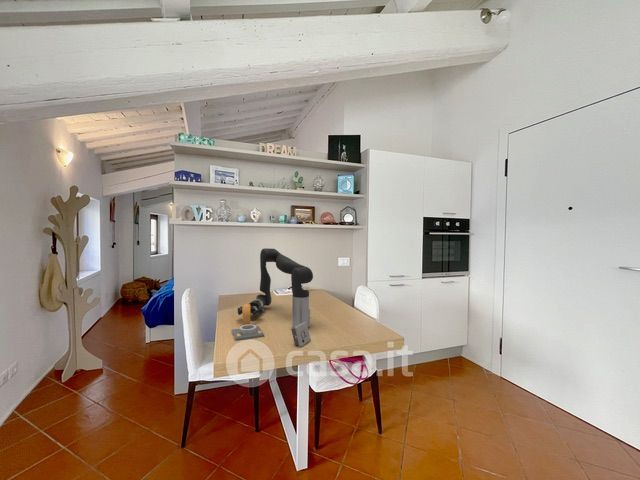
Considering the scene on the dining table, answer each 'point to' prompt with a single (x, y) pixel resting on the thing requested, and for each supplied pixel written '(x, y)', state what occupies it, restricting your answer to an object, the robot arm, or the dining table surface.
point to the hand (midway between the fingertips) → (246, 313)
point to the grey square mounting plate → (247, 332)
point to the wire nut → (245, 314)
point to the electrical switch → (301, 334)
